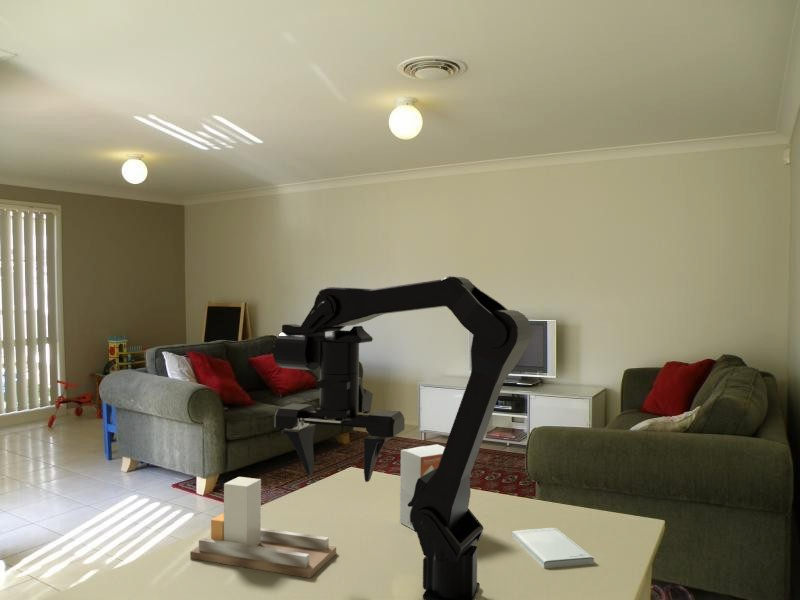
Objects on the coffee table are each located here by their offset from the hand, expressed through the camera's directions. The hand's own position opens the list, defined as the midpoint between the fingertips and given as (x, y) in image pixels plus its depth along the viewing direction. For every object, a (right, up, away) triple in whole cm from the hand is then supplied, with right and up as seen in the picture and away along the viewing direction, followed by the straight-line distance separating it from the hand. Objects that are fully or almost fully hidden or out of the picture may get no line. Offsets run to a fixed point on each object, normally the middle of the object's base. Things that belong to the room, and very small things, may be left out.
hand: (338, 477), depth 93 cm
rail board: (-12, -13, +3) cm, 18 cm away
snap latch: (-18, -11, +6) cm, 22 cm away
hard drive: (+33, -14, +7) cm, 37 cm away
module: (-15, -12, +4) cm, 20 cm away
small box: (+14, -13, +18) cm, 26 cm away
